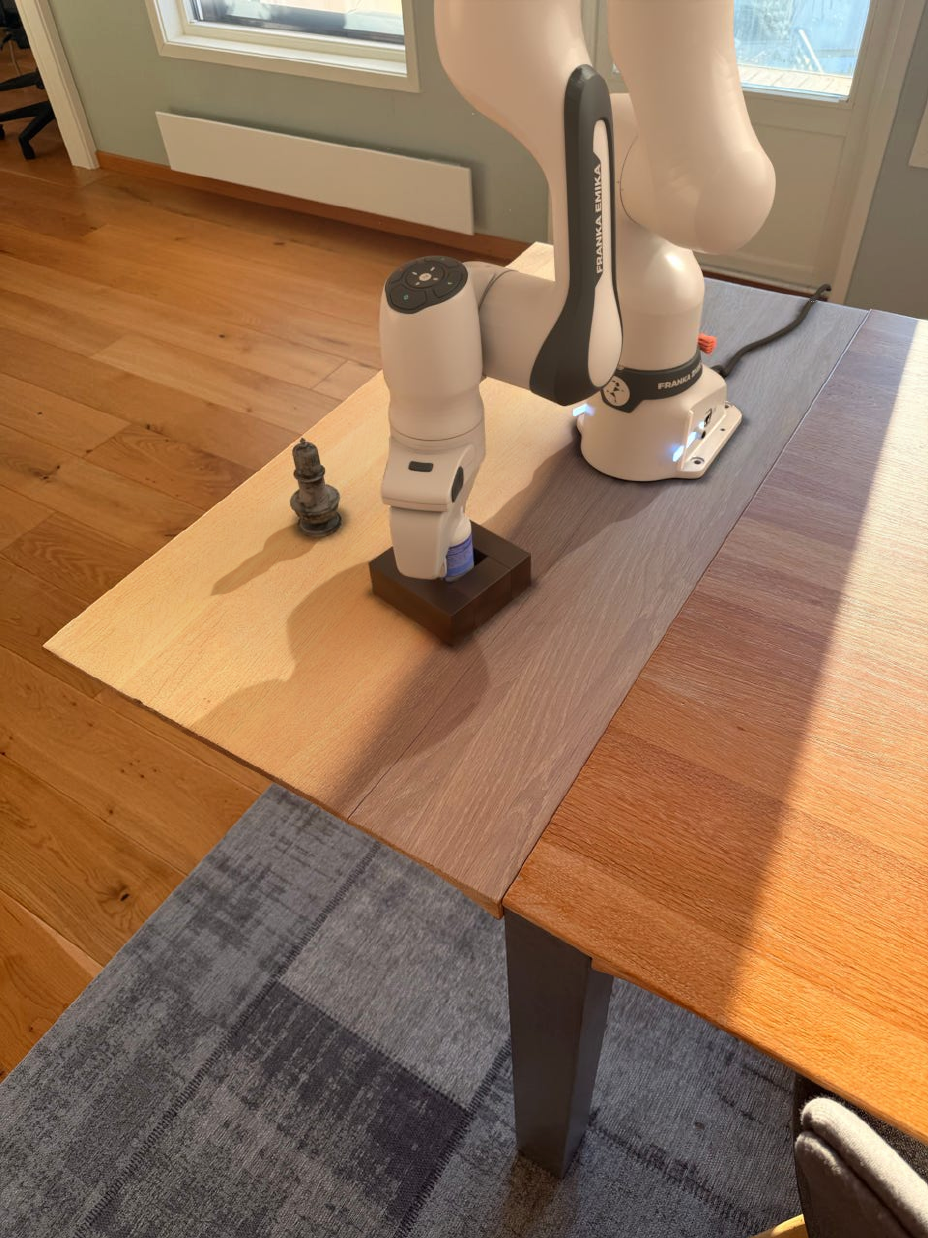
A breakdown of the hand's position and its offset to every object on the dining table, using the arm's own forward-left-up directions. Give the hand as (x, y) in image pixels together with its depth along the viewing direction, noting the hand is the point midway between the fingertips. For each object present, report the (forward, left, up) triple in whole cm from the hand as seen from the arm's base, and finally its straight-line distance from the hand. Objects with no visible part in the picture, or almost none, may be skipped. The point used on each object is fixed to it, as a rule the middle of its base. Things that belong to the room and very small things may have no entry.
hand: (447, 551), depth 95 cm
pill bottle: (0, 0, -4) cm, 4 cm away
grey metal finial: (+2, -20, -6) cm, 21 cm away
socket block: (0, 0, -5) cm, 5 cm away
